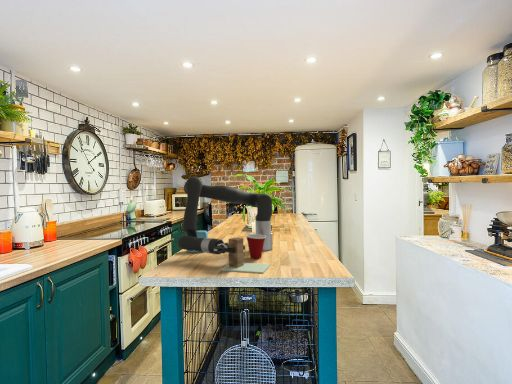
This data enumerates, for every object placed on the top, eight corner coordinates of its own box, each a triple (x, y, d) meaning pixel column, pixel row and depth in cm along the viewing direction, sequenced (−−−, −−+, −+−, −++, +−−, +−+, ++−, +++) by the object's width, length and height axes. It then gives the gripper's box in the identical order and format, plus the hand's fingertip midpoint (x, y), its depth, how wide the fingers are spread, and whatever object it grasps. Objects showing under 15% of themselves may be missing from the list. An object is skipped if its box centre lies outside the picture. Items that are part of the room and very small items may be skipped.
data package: (208, 250, 190) (207, 230, 189) (206, 252, 185) (206, 231, 185) (188, 250, 191) (188, 230, 190) (186, 252, 186) (185, 231, 186)
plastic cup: (264, 260, 164) (264, 237, 163) (244, 259, 166) (243, 236, 166) (268, 255, 174) (267, 233, 174) (248, 255, 176) (248, 233, 176)
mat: (220, 270, 146) (220, 269, 146) (231, 263, 159) (231, 261, 159) (263, 273, 140) (263, 272, 140) (270, 265, 153) (270, 264, 153)
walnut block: (228, 266, 150) (228, 238, 150) (235, 264, 154) (234, 237, 154) (237, 267, 148) (237, 239, 147) (243, 265, 152) (243, 238, 152)
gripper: (202, 240, 152) (230, 243, 143) (221, 236, 164) (248, 238, 156) (203, 256, 152) (231, 260, 144) (221, 250, 164) (248, 254, 156)
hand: (239, 249), depth 150 cm, fingers open, 7 cm apart
